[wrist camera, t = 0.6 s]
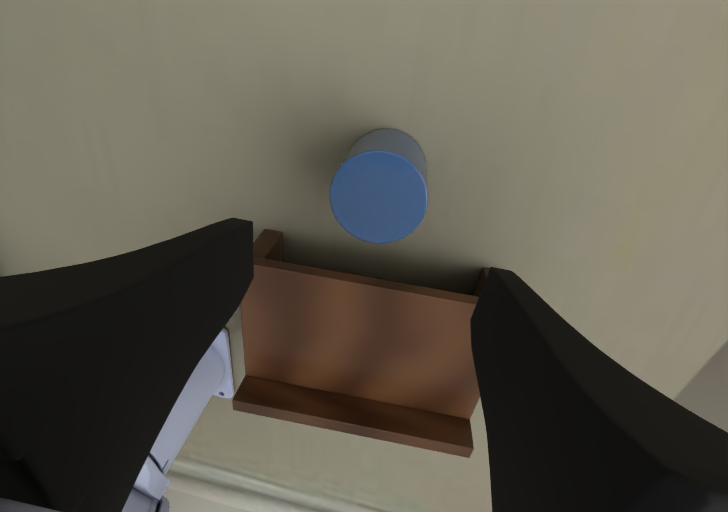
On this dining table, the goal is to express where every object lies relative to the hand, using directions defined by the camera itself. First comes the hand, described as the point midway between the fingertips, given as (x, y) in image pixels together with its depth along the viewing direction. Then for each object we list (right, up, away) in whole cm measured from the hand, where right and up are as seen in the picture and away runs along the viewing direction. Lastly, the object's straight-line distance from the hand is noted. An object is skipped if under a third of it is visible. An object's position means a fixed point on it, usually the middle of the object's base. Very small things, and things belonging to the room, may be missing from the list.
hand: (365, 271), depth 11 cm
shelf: (0, -3, +14) cm, 14 cm away
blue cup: (+1, +5, +9) cm, 10 cm away
